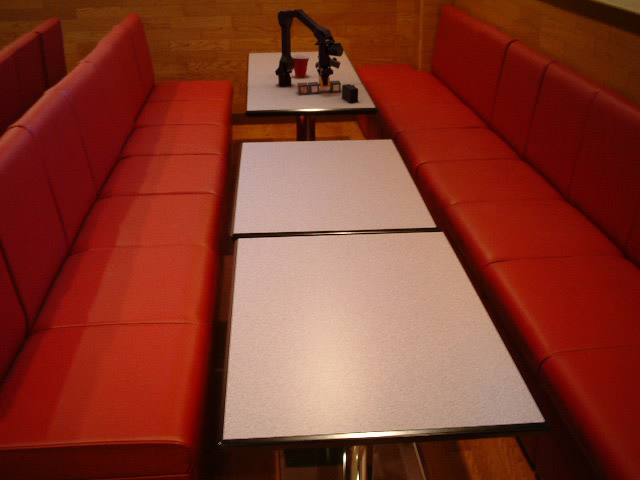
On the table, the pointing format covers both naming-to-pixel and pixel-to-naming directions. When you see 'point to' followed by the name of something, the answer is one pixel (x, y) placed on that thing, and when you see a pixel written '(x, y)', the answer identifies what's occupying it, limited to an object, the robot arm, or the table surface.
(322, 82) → the mustard block
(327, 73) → the robot arm
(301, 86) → the walnut block
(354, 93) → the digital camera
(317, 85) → the slate block
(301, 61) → the plastic cup
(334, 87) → the green block
